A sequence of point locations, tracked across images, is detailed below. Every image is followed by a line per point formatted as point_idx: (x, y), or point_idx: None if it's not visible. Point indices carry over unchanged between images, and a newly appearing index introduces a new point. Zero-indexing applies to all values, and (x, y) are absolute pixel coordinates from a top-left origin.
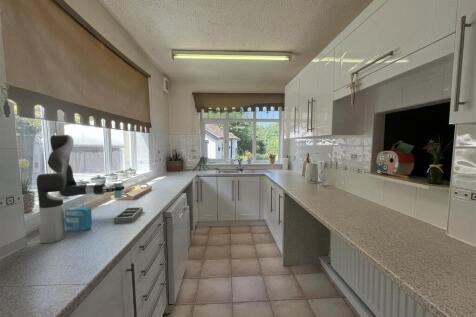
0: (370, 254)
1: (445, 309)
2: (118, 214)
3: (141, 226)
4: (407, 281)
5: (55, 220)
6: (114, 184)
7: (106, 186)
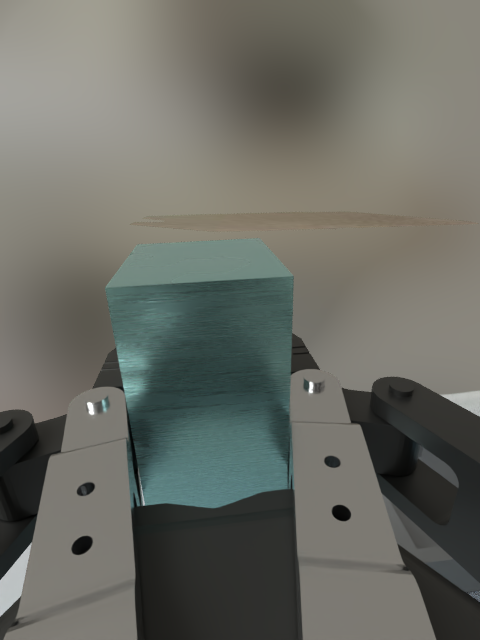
0: (395, 226)
1: (476, 223)
2: (425, 560)
3: (454, 399)
4: (443, 224)
5: None
6: (290, 315)
7: (428, 619)
